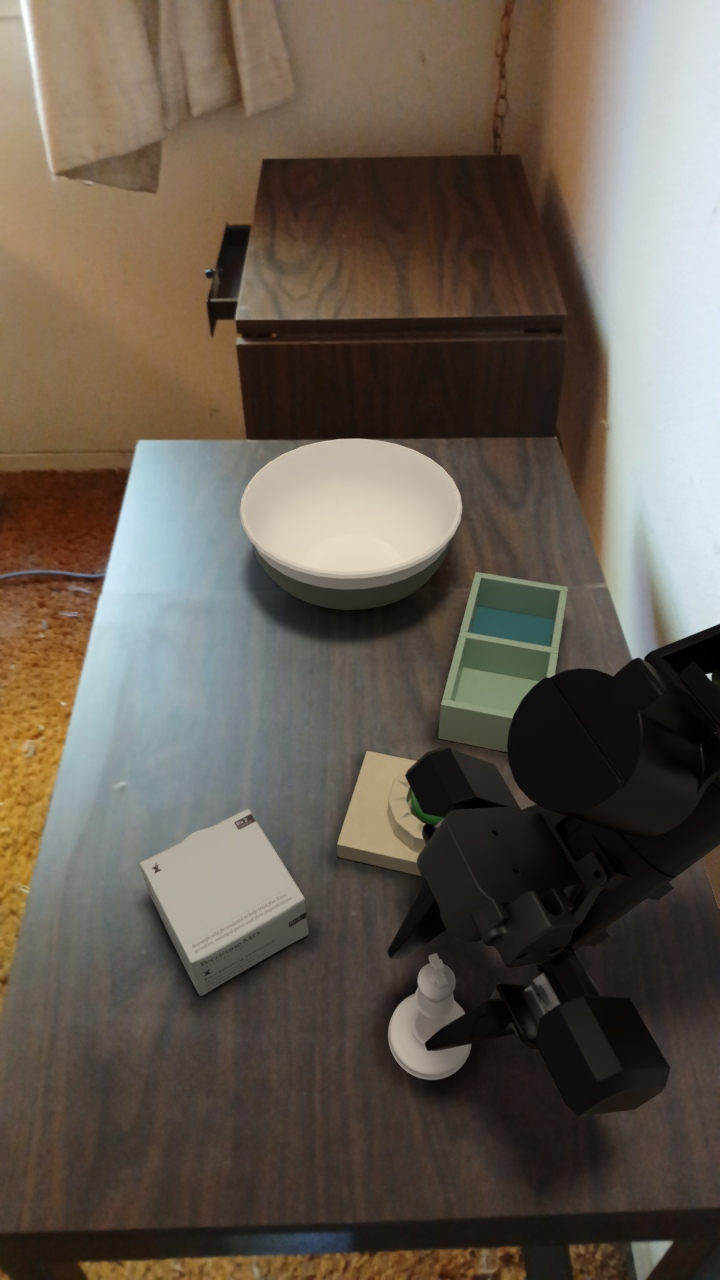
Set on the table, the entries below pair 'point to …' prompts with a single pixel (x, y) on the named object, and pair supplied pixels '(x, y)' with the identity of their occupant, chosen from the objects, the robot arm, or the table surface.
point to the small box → (225, 899)
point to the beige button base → (382, 817)
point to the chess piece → (427, 1024)
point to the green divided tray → (500, 657)
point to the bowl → (351, 521)
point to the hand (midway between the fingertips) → (411, 1000)
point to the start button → (420, 814)
